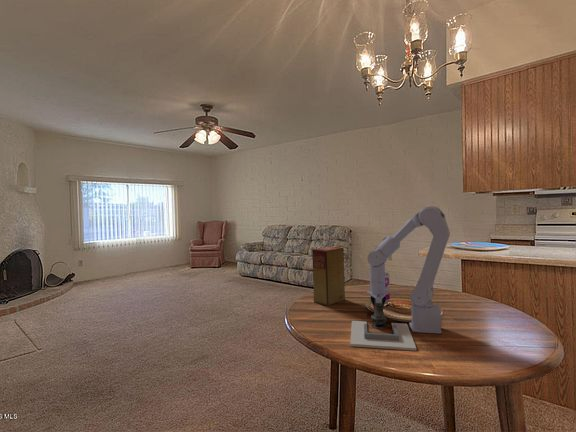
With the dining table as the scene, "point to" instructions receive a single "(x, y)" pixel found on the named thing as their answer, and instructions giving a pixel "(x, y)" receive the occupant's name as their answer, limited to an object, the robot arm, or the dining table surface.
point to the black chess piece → (379, 316)
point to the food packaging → (328, 275)
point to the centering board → (382, 337)
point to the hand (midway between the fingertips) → (378, 315)
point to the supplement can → (387, 287)
